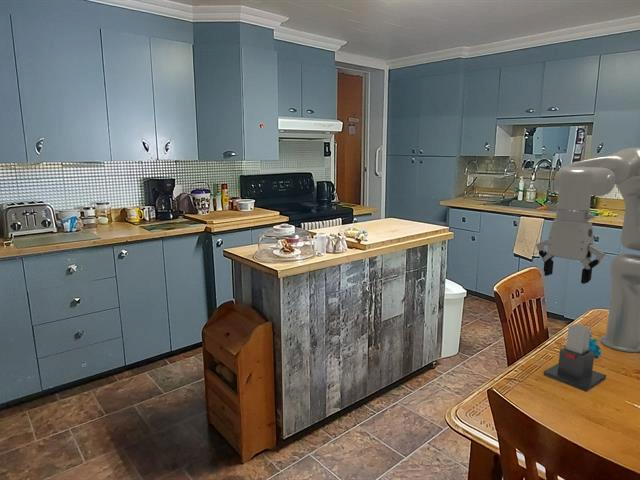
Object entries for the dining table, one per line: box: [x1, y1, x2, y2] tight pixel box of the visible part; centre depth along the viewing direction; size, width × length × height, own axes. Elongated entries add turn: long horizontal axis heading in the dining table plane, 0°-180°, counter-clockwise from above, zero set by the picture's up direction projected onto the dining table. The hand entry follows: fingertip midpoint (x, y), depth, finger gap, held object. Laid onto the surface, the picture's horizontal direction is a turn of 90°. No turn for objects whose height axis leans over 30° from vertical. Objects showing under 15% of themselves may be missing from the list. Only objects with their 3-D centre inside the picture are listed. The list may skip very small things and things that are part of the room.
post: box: [565, 323, 592, 356], centre depth 128 cm, size 4×4×14 cm
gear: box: [588, 333, 602, 359], centre depth 146 cm, size 11×6×10 cm
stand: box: [543, 346, 607, 393], centre depth 129 cm, size 12×12×8 cm
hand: (566, 278), depth 120 cm, fingers open, 9 cm apart
